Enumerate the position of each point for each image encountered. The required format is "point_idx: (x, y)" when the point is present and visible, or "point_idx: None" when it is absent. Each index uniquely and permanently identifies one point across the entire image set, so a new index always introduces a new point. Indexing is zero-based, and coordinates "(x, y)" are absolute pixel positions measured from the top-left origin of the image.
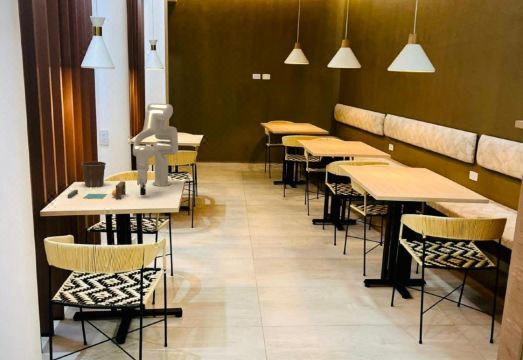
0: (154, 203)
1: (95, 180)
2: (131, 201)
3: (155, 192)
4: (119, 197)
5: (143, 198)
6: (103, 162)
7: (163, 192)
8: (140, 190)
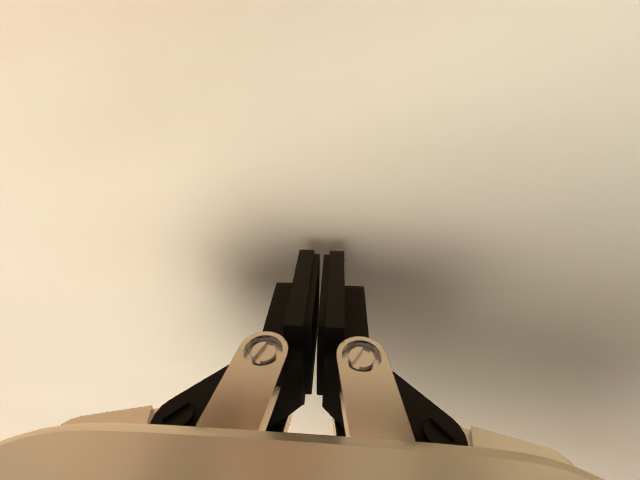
0: (59, 386)
1: None
2: (9, 131)
3: (624, 371)
4: None
5: (254, 273)
6: None
7: (590, 433)
8: (288, 308)
